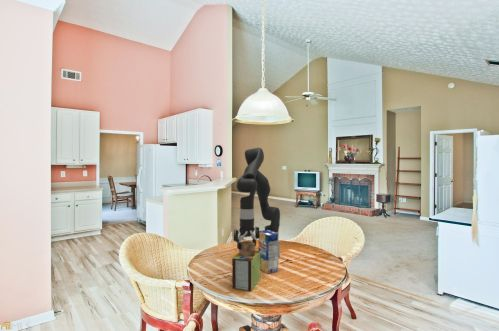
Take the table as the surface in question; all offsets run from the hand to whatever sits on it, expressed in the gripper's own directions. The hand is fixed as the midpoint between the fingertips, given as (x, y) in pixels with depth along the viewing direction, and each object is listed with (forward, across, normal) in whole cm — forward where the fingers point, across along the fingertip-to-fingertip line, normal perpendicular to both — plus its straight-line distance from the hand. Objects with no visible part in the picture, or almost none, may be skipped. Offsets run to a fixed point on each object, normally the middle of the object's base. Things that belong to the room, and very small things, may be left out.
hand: (246, 248), depth 146 cm
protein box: (+19, 0, 0) cm, 19 cm away
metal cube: (+3, 0, 0) cm, 3 cm away
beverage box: (+19, -20, -10) cm, 29 cm away
